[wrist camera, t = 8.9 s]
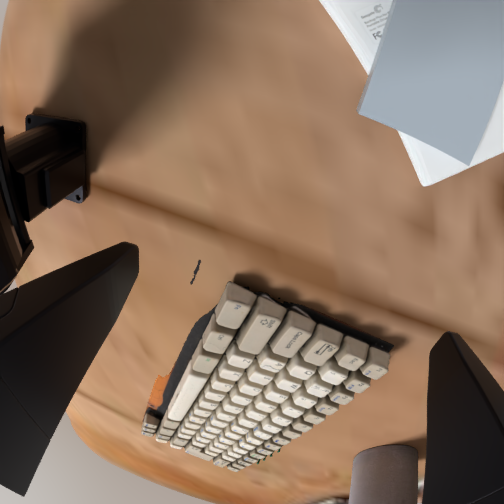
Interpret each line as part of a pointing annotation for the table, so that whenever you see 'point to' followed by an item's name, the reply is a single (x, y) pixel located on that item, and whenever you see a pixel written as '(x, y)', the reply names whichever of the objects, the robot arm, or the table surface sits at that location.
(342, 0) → the external hard drive
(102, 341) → the robot arm
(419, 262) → the table surface
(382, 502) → the pillar candle
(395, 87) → the lid
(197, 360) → the mechanical keyboard
